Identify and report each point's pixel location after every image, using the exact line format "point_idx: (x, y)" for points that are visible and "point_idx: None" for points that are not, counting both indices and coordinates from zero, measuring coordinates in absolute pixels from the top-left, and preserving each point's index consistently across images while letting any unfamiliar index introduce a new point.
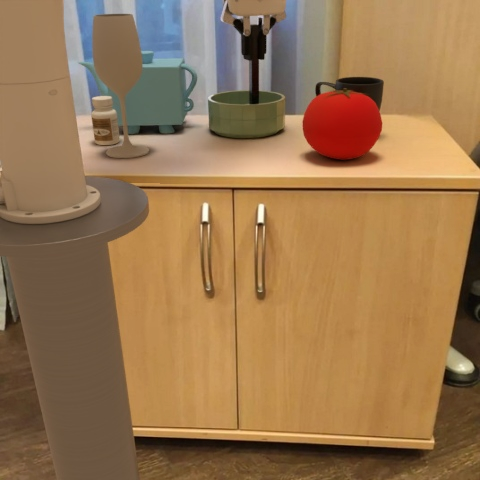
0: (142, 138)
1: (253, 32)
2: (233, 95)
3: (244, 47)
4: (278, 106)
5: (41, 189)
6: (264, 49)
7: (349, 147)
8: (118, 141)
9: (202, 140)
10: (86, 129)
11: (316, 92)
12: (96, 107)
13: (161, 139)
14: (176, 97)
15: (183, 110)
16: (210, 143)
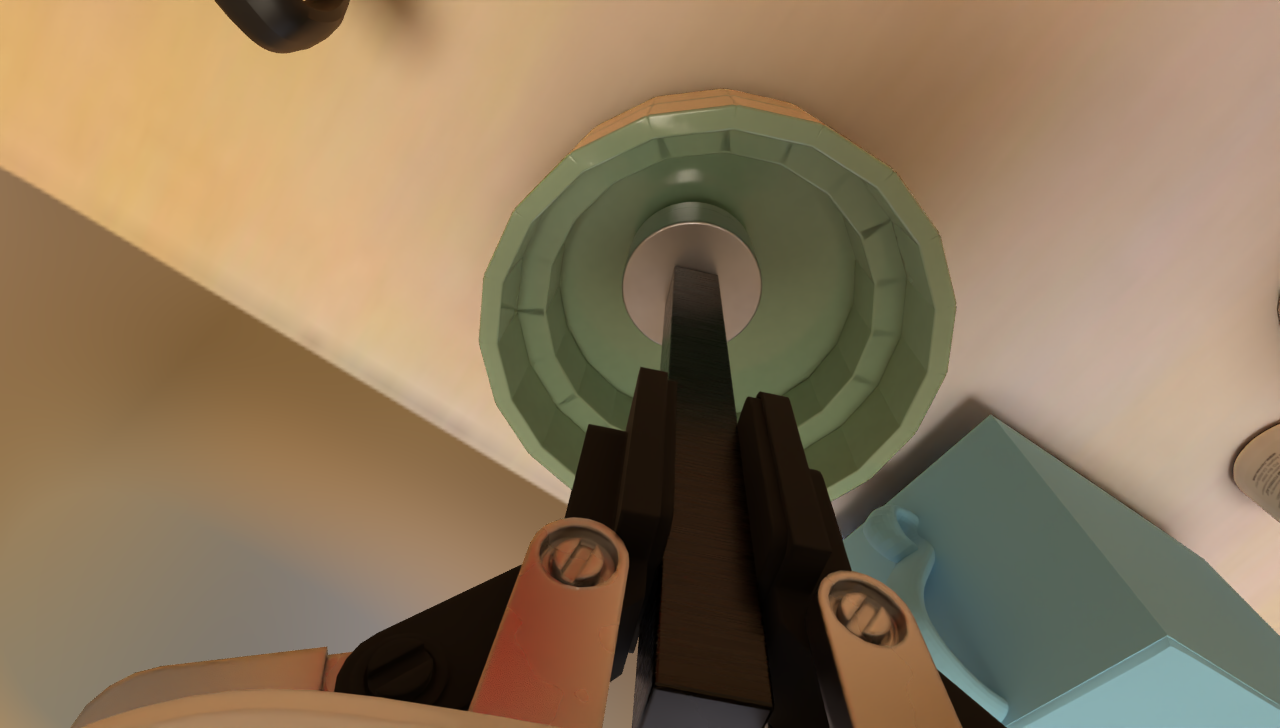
0: (1139, 431)
1: (734, 615)
2: None
3: (832, 510)
4: (626, 122)
5: None
6: (634, 411)
7: None
8: (1277, 426)
9: (991, 251)
10: None
11: (331, 7)
12: None
13: (1101, 374)
14: (1073, 507)
15: (932, 505)
16: (1008, 177)
